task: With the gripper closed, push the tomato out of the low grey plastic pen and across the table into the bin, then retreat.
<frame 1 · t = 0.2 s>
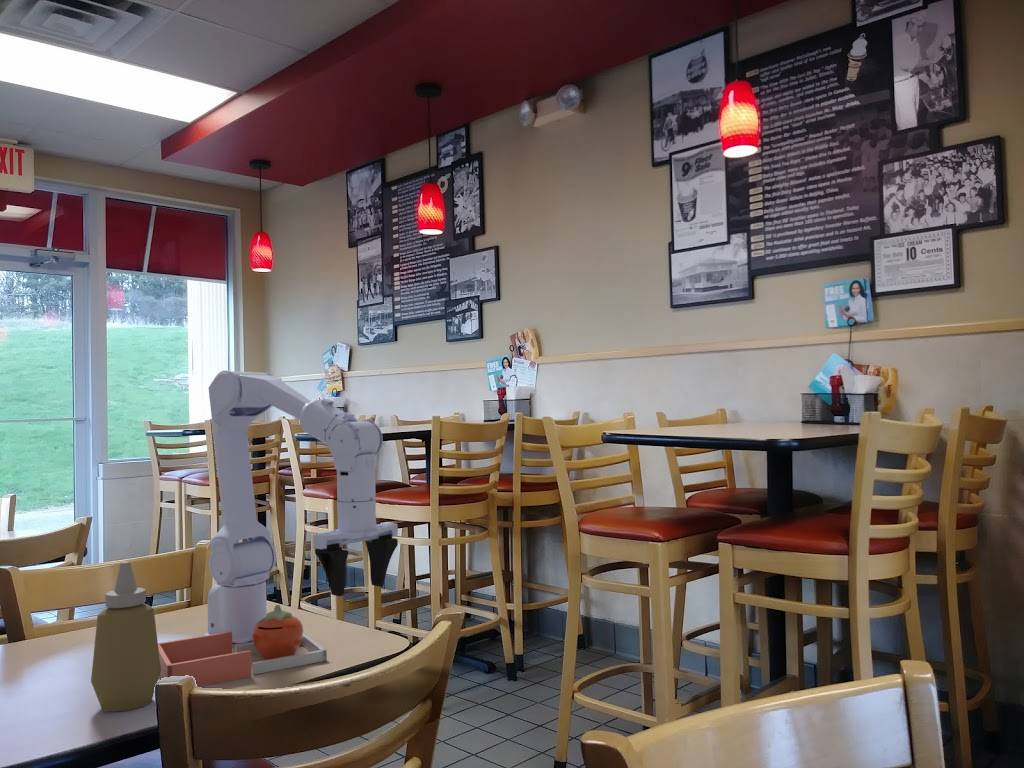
hand: (358, 590, 120), 10 cm above the table, fingers open, 7 cm apart
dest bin: (208, 670, 114), on the table
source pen: (278, 658, 120), on the table
tomato: (278, 659, 120), on the table
squeeze bottle: (127, 706, 102), on the table
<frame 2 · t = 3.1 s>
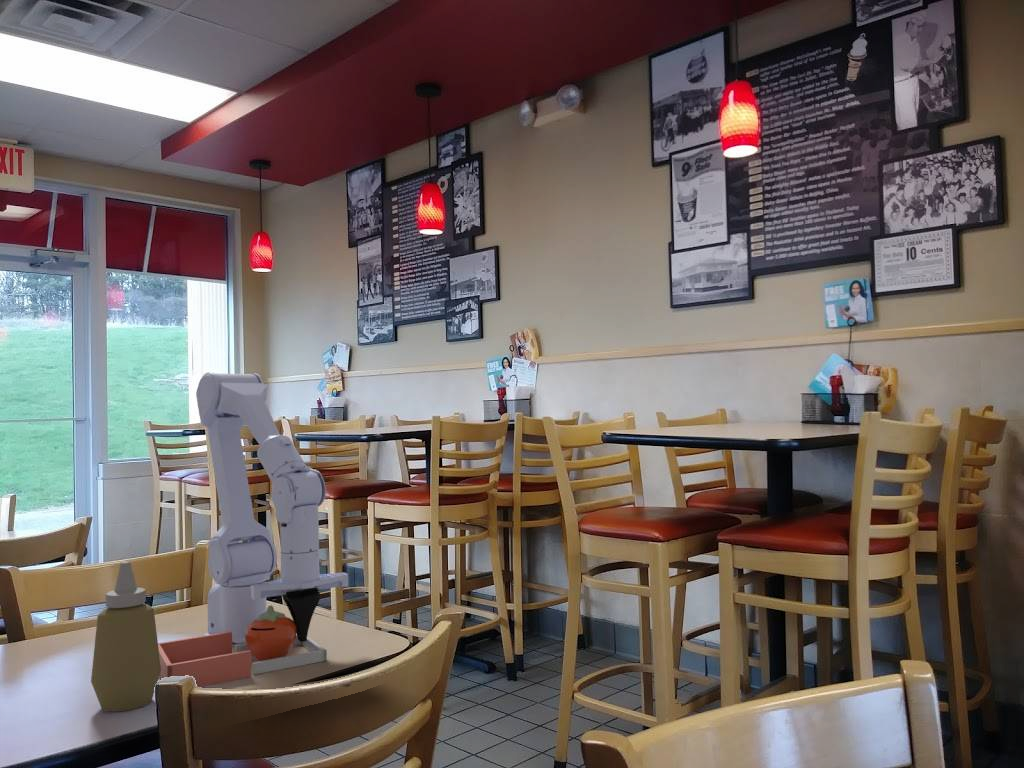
hand: (301, 640, 121), 2 cm above the table, fingers closed
tomato: (271, 660, 119), on the table, touching gripper
everything else where it was.
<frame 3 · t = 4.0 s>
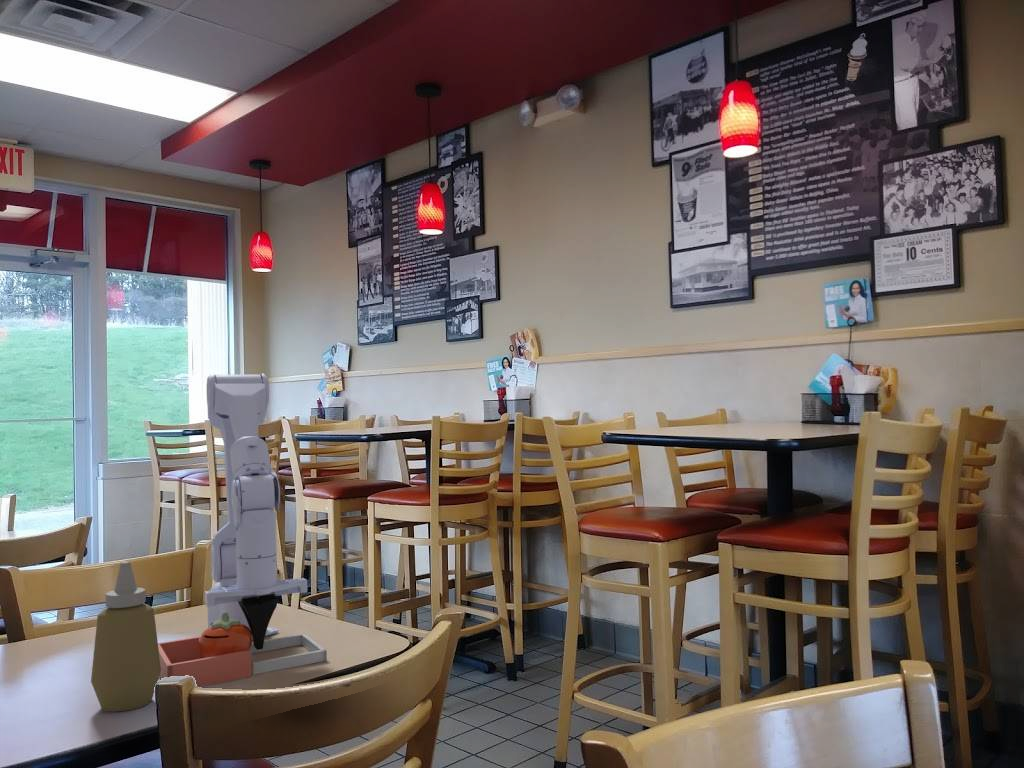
hand: (258, 647, 118), 2 cm above the table, fingers closed
tomato: (226, 669, 116), on the table, touching gripper
everything else where it was.
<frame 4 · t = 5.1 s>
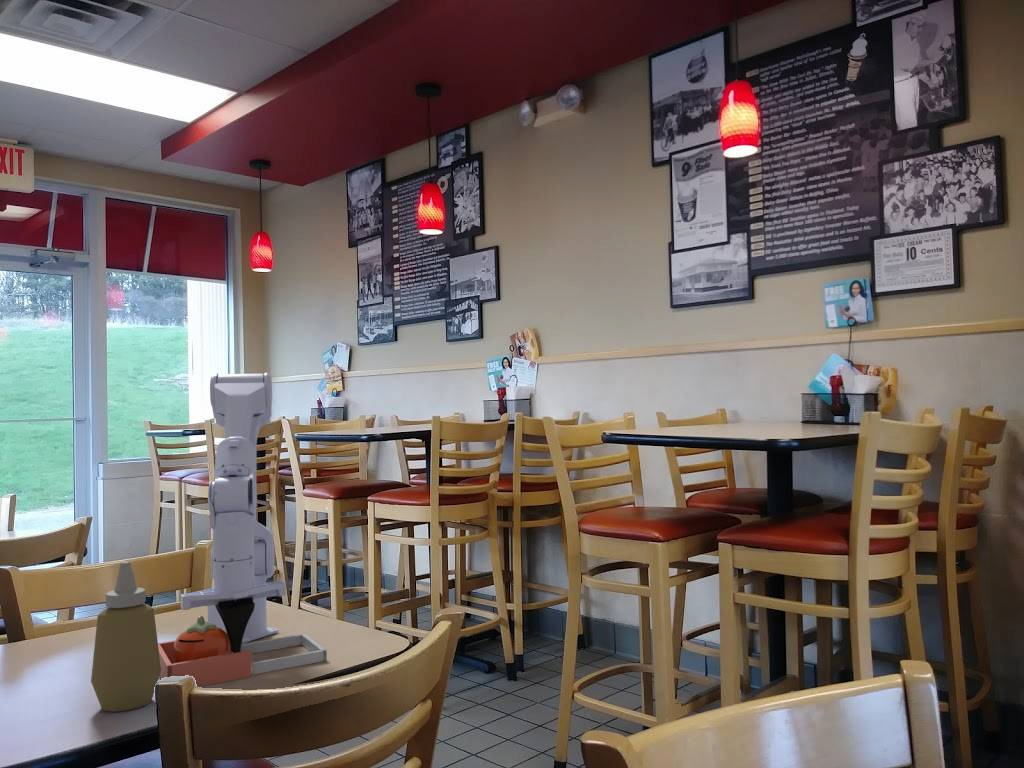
hand: (235, 651, 116), 2 cm above the table, fingers closed
tomato: (202, 673, 114), on the table, touching gripper
everything else where it was.
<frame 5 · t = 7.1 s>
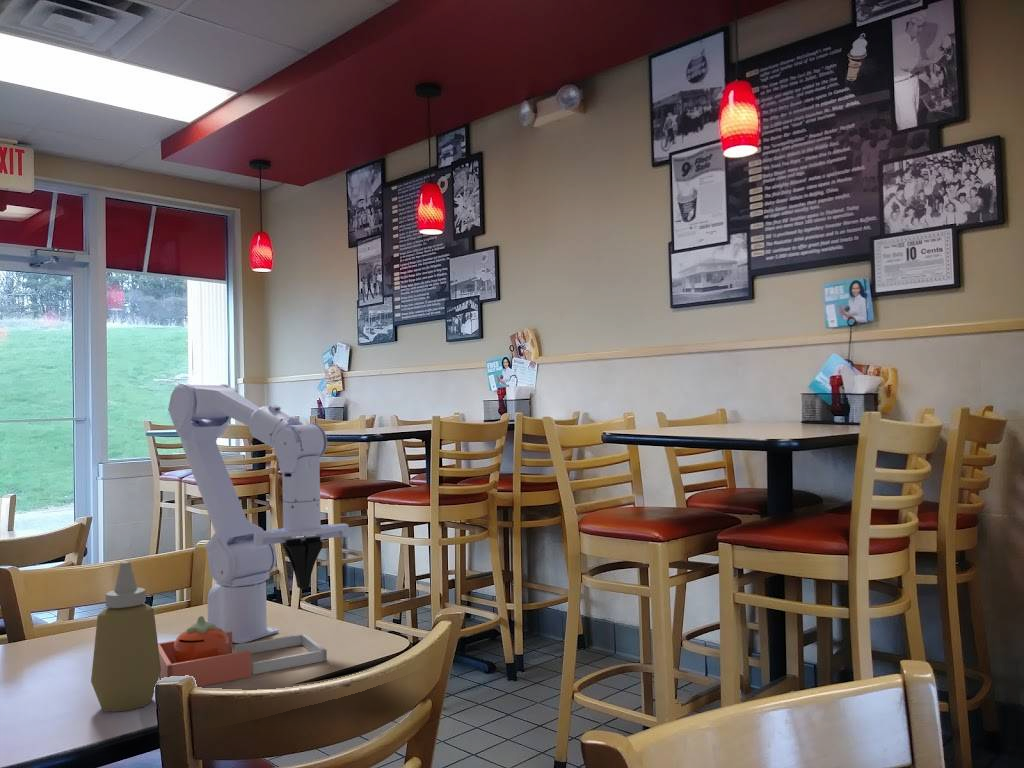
hand: (303, 587, 125), 9 cm above the table, fingers closed
tomato: (201, 673, 114), on the table
everything else where it was.
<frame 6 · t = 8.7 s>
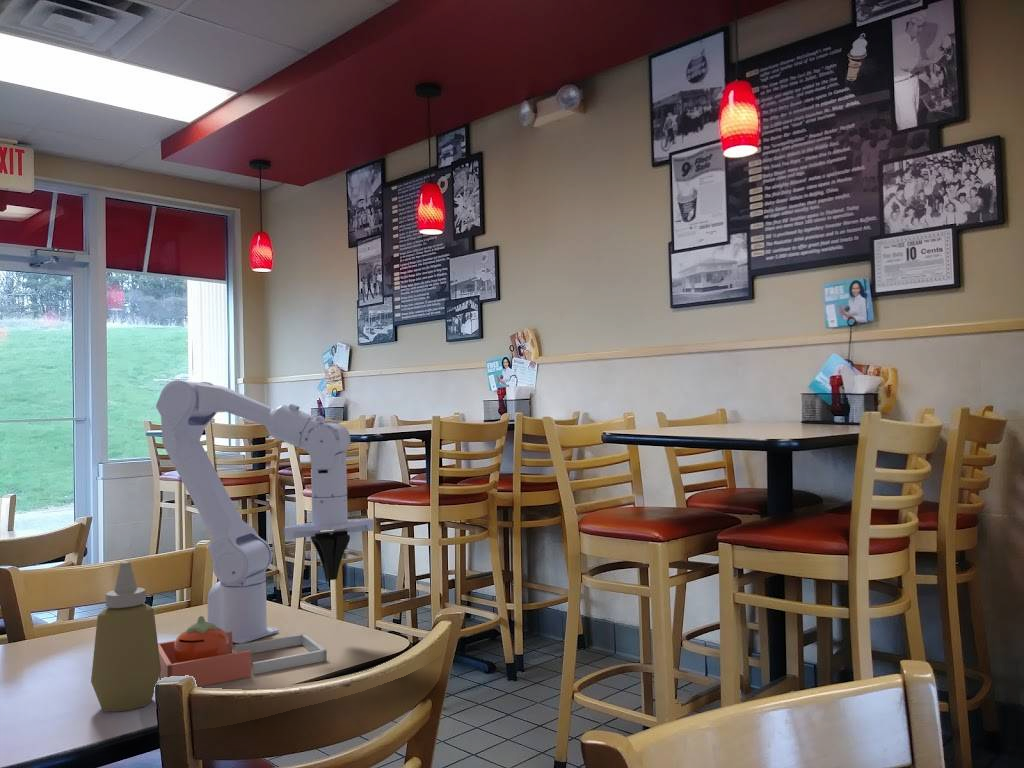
hand: (331, 578, 131), 9 cm above the table, fingers closed
nothing on the table moved.
at the end: tomato 0.9 cm from the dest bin (horizontally); tomato moved 10.9 cm from its start; the gripper is holding nothing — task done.
